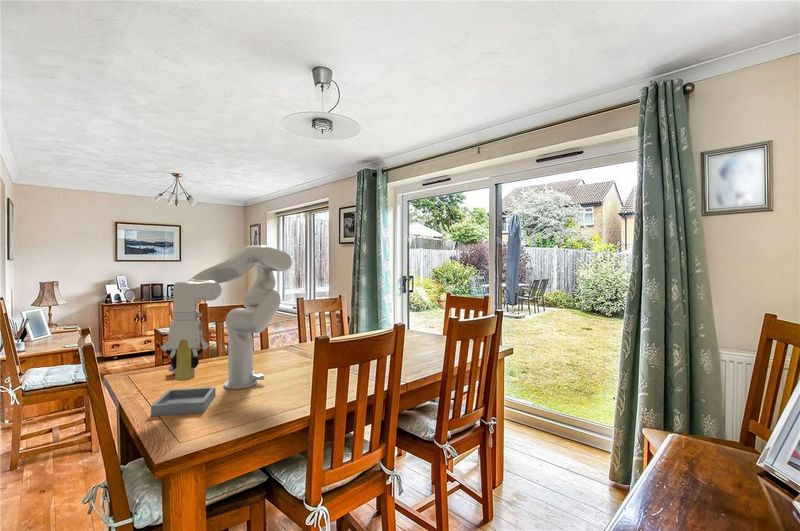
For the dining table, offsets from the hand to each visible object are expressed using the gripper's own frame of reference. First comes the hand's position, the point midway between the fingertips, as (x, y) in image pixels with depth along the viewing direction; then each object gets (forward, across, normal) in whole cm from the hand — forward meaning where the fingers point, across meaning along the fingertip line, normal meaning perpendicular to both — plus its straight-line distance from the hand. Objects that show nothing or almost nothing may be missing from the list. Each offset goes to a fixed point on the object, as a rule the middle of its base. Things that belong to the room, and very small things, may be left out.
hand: (185, 367), depth 135 cm
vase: (+4, 0, 0) cm, 4 cm away
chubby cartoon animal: (+14, +12, -41) cm, 45 cm away
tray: (+14, 0, 0) cm, 14 cm away
